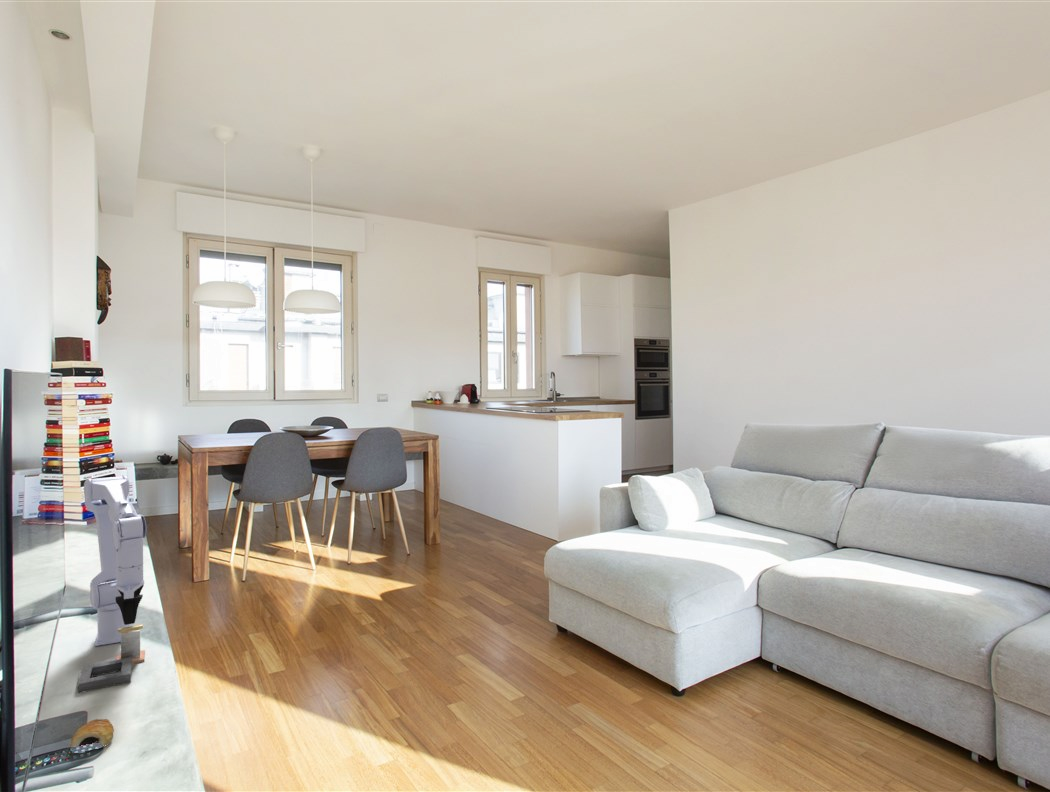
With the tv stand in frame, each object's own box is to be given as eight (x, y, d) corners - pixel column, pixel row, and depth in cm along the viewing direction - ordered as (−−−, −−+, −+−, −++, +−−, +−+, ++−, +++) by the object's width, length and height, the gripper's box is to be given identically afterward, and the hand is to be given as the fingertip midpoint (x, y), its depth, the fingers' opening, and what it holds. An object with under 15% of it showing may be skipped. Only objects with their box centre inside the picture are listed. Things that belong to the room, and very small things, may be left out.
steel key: (143, 651, 160) (142, 622, 160) (142, 657, 157) (142, 627, 156) (118, 656, 157) (118, 626, 157) (118, 662, 154) (117, 632, 154)
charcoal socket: (82, 674, 149) (82, 666, 149) (132, 665, 154) (132, 657, 154) (78, 692, 140) (77, 684, 140) (130, 682, 145) (130, 673, 145)
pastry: (78, 732, 125) (79, 713, 125) (118, 725, 128) (118, 706, 128) (67, 758, 116) (67, 738, 116) (110, 749, 119) (110, 730, 119)
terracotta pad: (117, 657, 158) (117, 655, 158) (144, 652, 161) (144, 650, 161) (115, 666, 153) (115, 664, 153) (144, 661, 156) (144, 659, 156)
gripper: (112, 559, 161) (113, 612, 161) (108, 575, 148) (109, 631, 148) (144, 556, 164) (145, 607, 165) (143, 570, 152) (143, 626, 152)
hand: (130, 618), depth 157 cm, fingers open, 7 cm apart
